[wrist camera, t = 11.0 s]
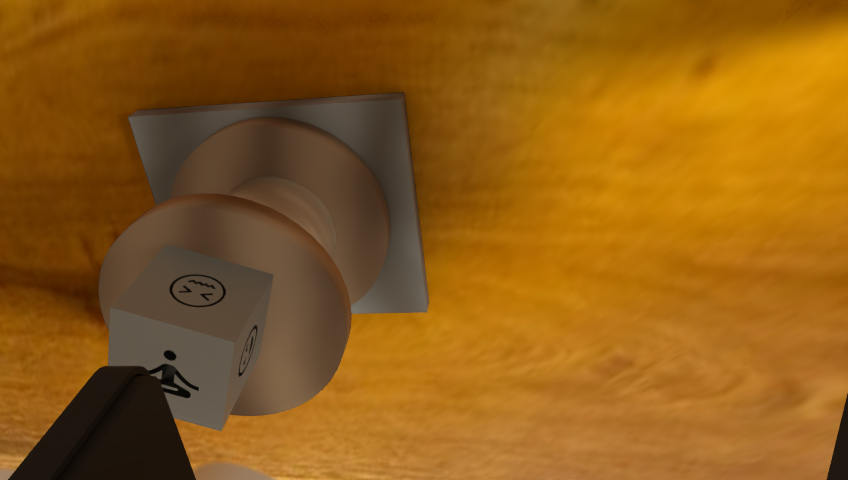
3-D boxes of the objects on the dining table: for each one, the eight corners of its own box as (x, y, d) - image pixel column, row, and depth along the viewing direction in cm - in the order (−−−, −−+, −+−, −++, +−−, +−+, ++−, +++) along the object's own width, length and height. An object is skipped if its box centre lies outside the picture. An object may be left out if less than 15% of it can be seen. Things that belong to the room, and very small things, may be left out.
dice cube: (159, 328, 34) (107, 399, 30) (166, 243, 31) (110, 307, 27) (259, 357, 34) (221, 431, 30) (274, 274, 31) (234, 342, 27)
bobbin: (403, 92, 39) (363, 178, 29) (429, 301, 45) (403, 431, 35) (137, 110, 41) (13, 195, 31) (198, 306, 48) (112, 429, 38)
